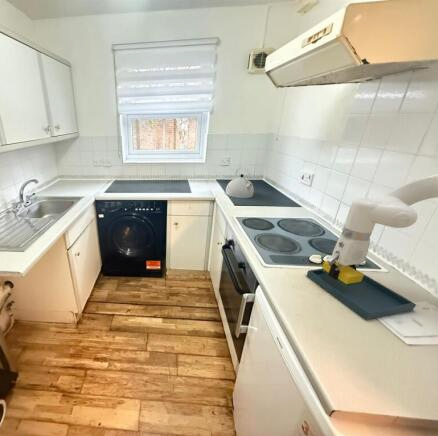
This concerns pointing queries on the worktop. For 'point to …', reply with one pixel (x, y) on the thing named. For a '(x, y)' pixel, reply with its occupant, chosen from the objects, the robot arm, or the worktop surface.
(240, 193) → the kettle
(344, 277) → the sponge
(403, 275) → the worktop surface
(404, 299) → the tray
